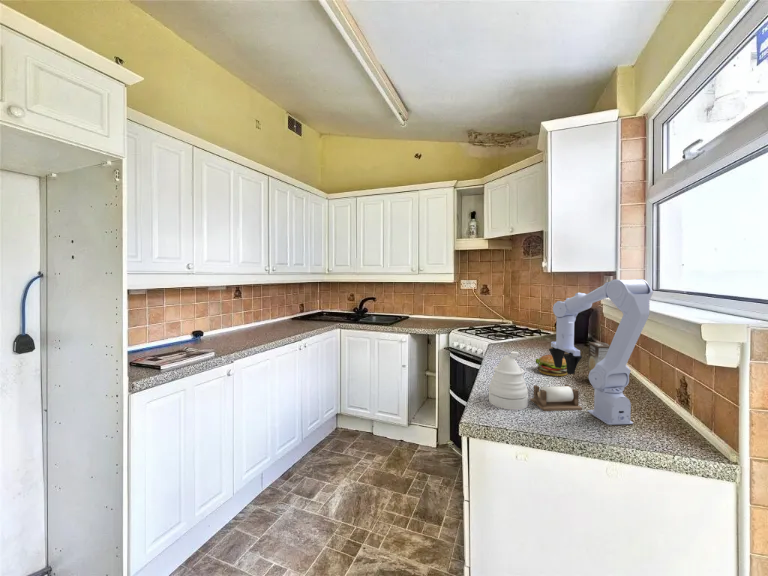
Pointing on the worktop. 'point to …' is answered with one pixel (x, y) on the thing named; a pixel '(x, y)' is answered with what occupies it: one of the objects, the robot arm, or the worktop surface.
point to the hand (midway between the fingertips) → (564, 370)
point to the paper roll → (558, 394)
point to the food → (551, 366)
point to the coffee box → (596, 353)
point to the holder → (555, 405)
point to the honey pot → (508, 385)
